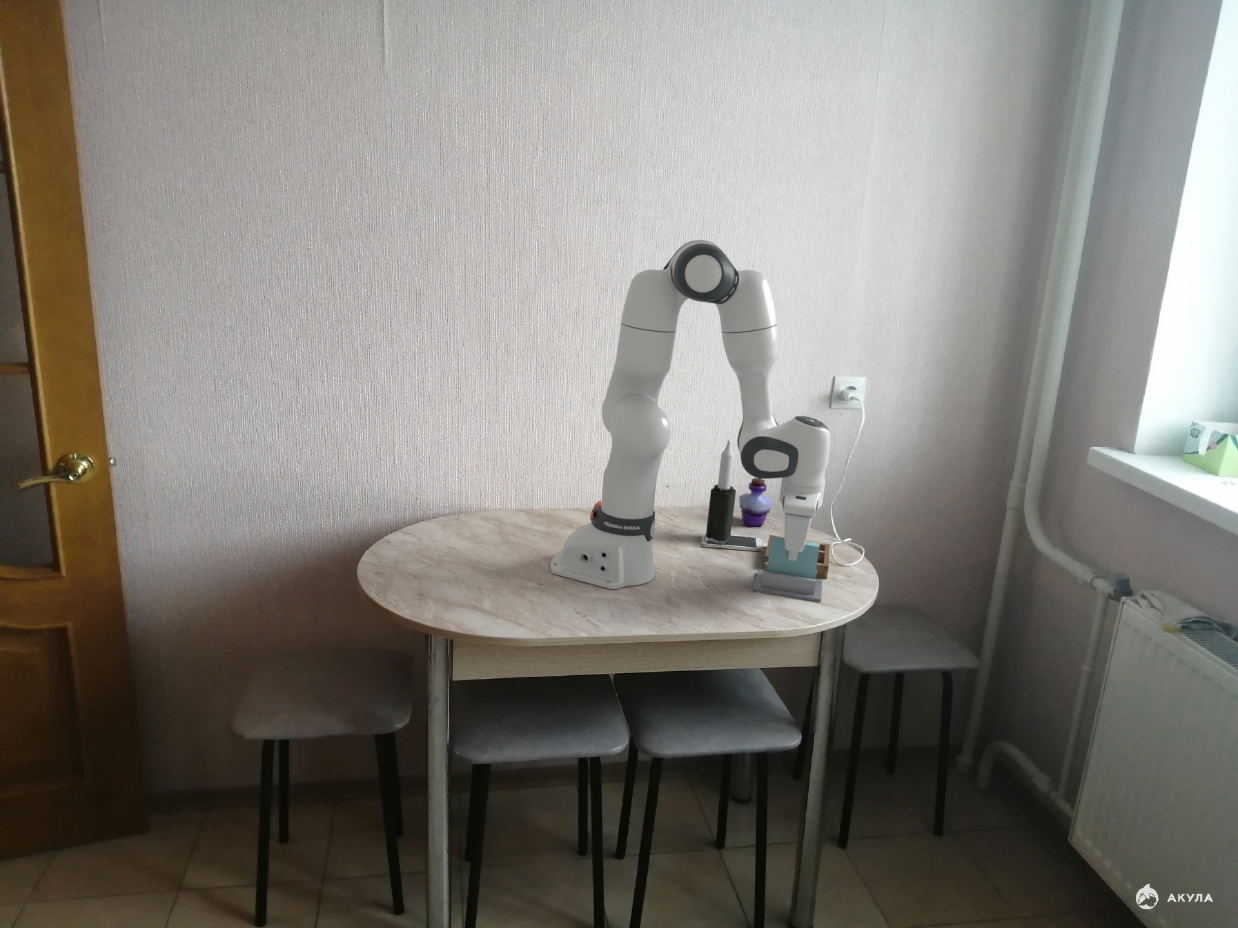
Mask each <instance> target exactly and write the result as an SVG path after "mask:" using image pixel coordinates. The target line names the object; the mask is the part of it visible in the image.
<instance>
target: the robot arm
mask: <svg viewBox="0 0 1238 928" xmlns="http://www.w3.org/2000/svg"><path fill="white" fill-rule="evenodd" d="M625 297H626V298H625V300H624V306H623V309H622V314H621V321H620V322H621V323H620V327H619V333H618V343H617V349H616V356H615V361H614V366H613V369H612V373H611V377H610V379H609V383H608V387H607V391H606V395H605V397H604V400H603V401H602V404H601V417H602V422H603V426H604V427H605V428H606V430H607V431H608V432H609V434H610V437H611V447H610V453H609V456H608V461H607V466H606V468H605V469H604V471H603V478H602V479H603V480H602V489H601V490H602V491H601V501H600V500H598V501H597V502H596V503H595V504H594V505H593V508H592V510H591V513H590V516H589V520H590V522H589V523H587V524H585V525H583V526H582V527H579V528H577V529H576V530H574V531H573V532H572V533H570V534H569V535H568V537H566V540H565V542H564V544H563V547H562V550H560V551H559V552H557V553H556V554H555V555H554V556H553V557H552V559H551V561H550V565H549V570H550V572H551V573H552V574H554V575H557V576H560V577H565V578H568V579H573V580H576V581H580V582H583V583H588V584H591V585H593V586H594V585H595V586H599V587H601V588H606V589H610V590H618V589H621V588H624V587H628V586H629V587H630V586H639V585H642V584H643V585H644V584H647V583H649V582H650V581H652V580H653V579H654V578H655V576H656V571H655V566H654V557H653V546H652V545H653V539H654V538H653V537H654V535H655V527H656V526H655V525H656V519H655V518H656V512H655V510H654V508H655V507H654V506H655V497H656V489H657V488H656V486H657V478H658V474H659V471H660V467H661V463H662V460H663V456H664V453H665V451H666V449H667V447H668V446H669V443H670V440H671V435H672V434H671V433H672V432H671V427H670V422H669V419H668V417H667V415H666V413H665V411H664V410H663V409H661V407H659V404H658V402H659V401H658V400H659V395H660V392H661V390H662V386H663V384H664V381H665V378H666V376H667V375H668V373H669V372H670V370H671V364H672V359H673V353H674V346H675V341H676V334H677V327H678V321H679V314H680V311H681V308H682V306H683V304H684V303H685V302H686V301H687V300H689V299H690V300H692V301H695V302H700V303H710V304H714V305H715V306H716V308H717V310H718V315H719V320H720V329H721V331H720V332H721V337H722V343H723V348H724V351H725V355H726V359H727V361H728V364H729V366H730V367H731V369H732V370H733V372H734V373H735V375H736V377H737V379H738V384H739V390H740V391H739V392H740V400H741V408H742V409H741V410H742V422H741V425H740V427H739V428H740V429H739V430H738V434H737V441H736V442H737V444H736V445H737V448H738V451H739V456H740V457H739V458H740V463H741V465H742V467H743V469H744V470H745V471H746V473H748V474H749V475H750V476H752V477H753V478H760V479H763V480H767V479H781V482H780V483H781V484H780V490H779V497H778V499H779V502H781V503H780V504H781V506H782V512H783V513H784V537H785V549H786V550H787V551H789V556H788V559H789V560H793V561H796V560H797V555H798V552H802V551H803V549H804V546H805V543H806V541H807V539H808V534H809V531H810V528H811V523H812V520H813V518H814V517H815V516H816V514H817V511H818V510H819V509H820V508H821V507H822V506H823V501H824V496H825V495H824V494H825V487H826V478H825V477H826V476H825V475H826V470H827V469H828V465H829V460H830V452H831V432H830V429H829V428H828V426H827V425H826V424H825V423H824V422H822V421H820V420H818V419H816V418H813V417H811V416H810V417H809V416H806V415H805V416H804V415H802V416H801V415H796V416H794V417H793V418H792V419H790V420H788V421H786V422H785V423H782V424H779V423H778V422H777V421H776V419H775V416H774V411H773V403H772V394H771V383H770V379H771V378H770V377H771V371H772V368H773V366H774V364H775V362H776V361H777V359H778V353H779V352H778V351H779V326H778V317H777V316H778V315H777V309H776V305H775V301H774V296H773V292H772V290H771V286H770V283H769V280H768V278H767V277H766V276H765V275H764V274H763V273H761V272H759V271H756V270H751V269H743V270H737V268H736V267H735V265H733V263H732V262H731V260H730V259H729V257H728V255H726V253H724V251H723V249H722V248H720V246H718V245H717V244H716V243H714V242H711V241H709V240H705V239H704V240H703V239H696V240H691V241H688V242H685V243H684V244H683V245H681V246H680V247H679V248H678V249H677V250H676V251H675V252H674V254H673V255H672V257H671V258H670V259H669V260H668V262H667V263H666V264H665V266H664V267H663V269H645V270H642V271H640V272H638V273H637V274H635V276H633V278H632V280H631V282H630V285H629V288H628V291H627V293H626V296H625Z"/></svg>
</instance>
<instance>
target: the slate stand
mask: <svg viewBox="0 0 1238 928" xmlns="http://www.w3.org/2000/svg"><path fill="white" fill-rule="evenodd" d="M767 568H768V563H767V562H765V569H763V570H760V569H758V570H757V573H756V577H755V580H754V585H753V587H752V588H753V589H752V591H753V592H759V593H764V594H769V595H776V596H782V597H787V598H792V599H799V600H803V601H804V600H805V601H809V602H810V601H811V602H816V603H821V601H822V590H823V580H821V579H820V580H818V579H817V577H816V574H817V571H816V573H815V579H810V578H804V577H798V576H792V575H786V574H779V573H773V572H767Z"/></svg>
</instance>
